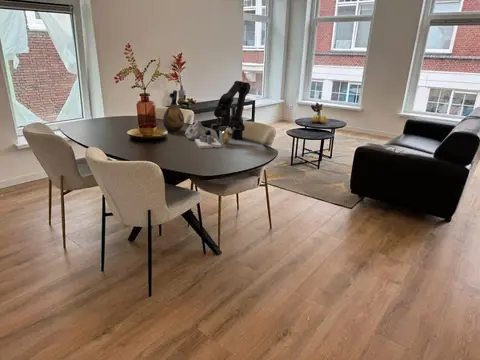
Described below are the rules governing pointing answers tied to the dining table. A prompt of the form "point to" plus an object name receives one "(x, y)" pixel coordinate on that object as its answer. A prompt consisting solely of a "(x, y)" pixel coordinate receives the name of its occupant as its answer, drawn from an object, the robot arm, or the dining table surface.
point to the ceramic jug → (173, 116)
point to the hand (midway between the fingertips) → (225, 139)
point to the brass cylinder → (225, 137)
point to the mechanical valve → (195, 131)
